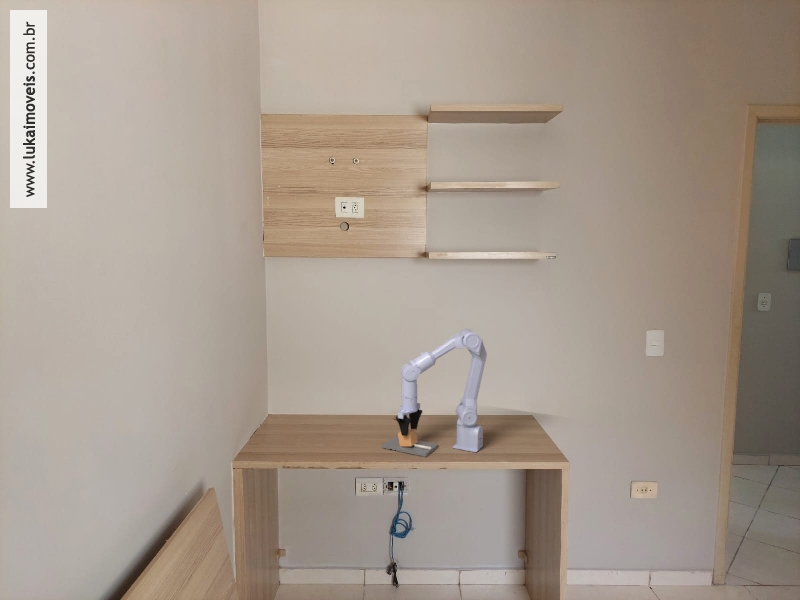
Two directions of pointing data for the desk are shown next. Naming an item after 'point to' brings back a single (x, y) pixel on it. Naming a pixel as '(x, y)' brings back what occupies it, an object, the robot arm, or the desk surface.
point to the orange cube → (408, 438)
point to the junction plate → (411, 447)
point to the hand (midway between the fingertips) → (409, 432)
